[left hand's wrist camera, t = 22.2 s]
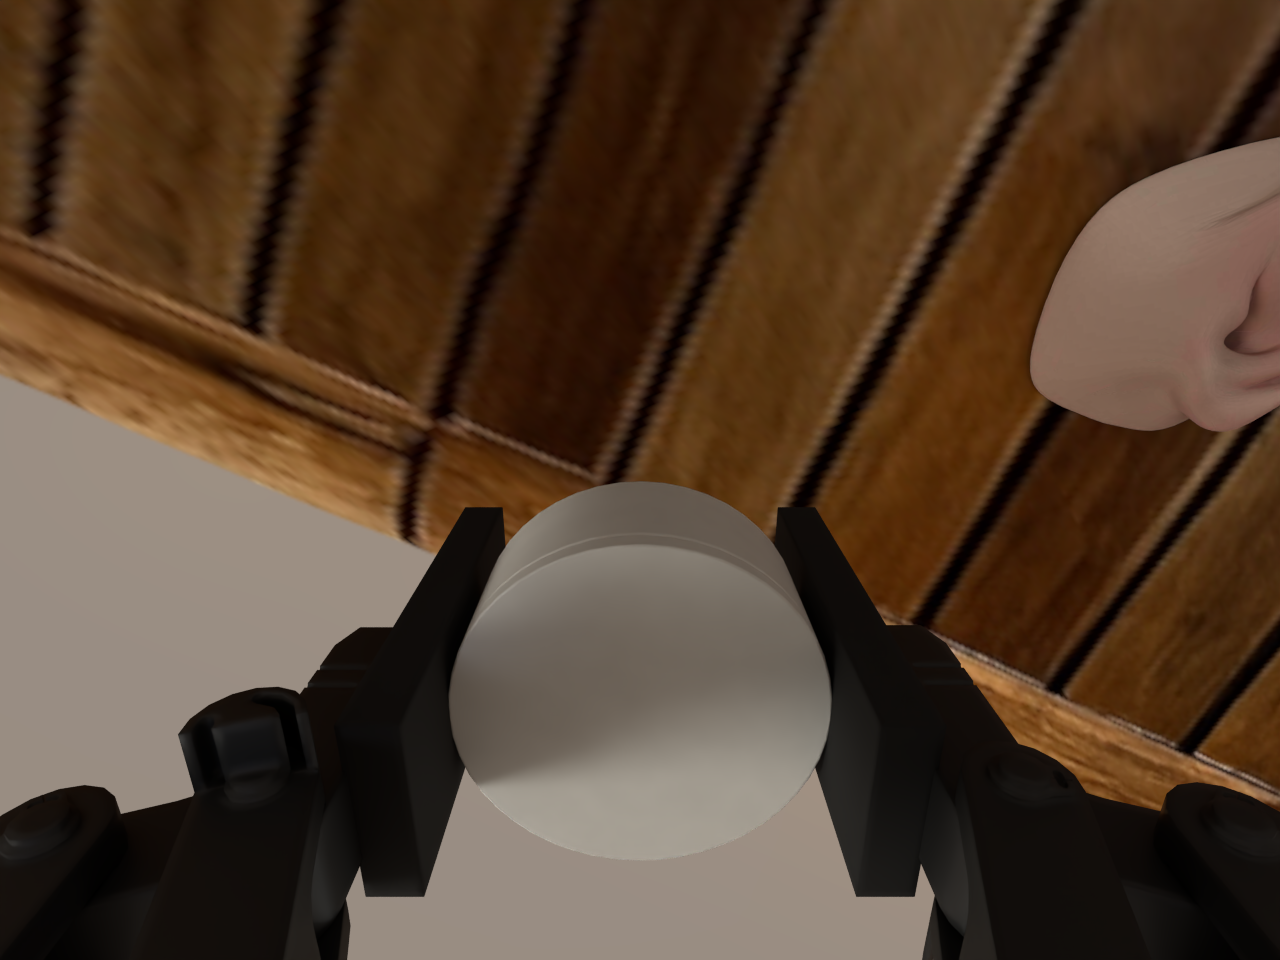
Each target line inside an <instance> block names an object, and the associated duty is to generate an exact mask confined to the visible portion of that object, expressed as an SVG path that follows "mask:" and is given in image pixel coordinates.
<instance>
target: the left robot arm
mask: <svg viewBox="0 0 1280 960" xmlns="http://www.w3.org/2000/svg"><path fill="white" fill-rule="evenodd" d="M775 548H776V549H777V551H778V552H779V554H780V555H781V557H782V558H783V560H784V562H785V565H786V567H787V569H788V571H789V573H790V576H791V578H792V580H793V583H794V585H795V587H796V590H797V592H798V594H799V597H800V599H801V602H802V604H803V606H804V609H805V611H806V613H807V616H808V618H809V621H810V623H811V625H812V628H813V630H814V632H815V635H816V637H817V639H818V642H819V644H820V647H821V649H822V651H823V654H824V656H825V660H826V663H827V667H828V671H829V674H830V679H831V688H832V707H831V717H830V725H829V732H828V737H827V741H826V744H825V746H824V749H823V751H822V754H821V757H820V759H819V761H818V763H817V765H816V767H815V768H816V772H817V774H818V778H819V781H820V784H821V787H822V790H823V793H824V797H825V800H826V803H827V806H828V809H829V812H830V816H831V819H832V822H833V825H834V828H835V831H836V834H837V838H838V841H839V844H840V847H841V850H842V853H843V856H844V859H845V863H846V866H847V869H848V872H849V875H850V878H851V882H852V885H853V888H854V891H855V894H856V897H914V896H915V892H916V887H917V882H918V876H919V871H920V866H921V865H922V867H923V869H924V871H925V874H926V876H927V878H928V881H929V883H930V885H931V887H932V890H933V892H934V894H935V897H934V902H933V907H932V912H931V917H930V922H929V927H928V932H927V937H926V941H925V946H924V951H923V958H922V960H1280V812H1279V811H1277V810H1275V809H1273V808H1271V807H1270V806H1268V805H1266V804H1264V803H1262V802H1260V801H1259V800H1257V799H1255V798H1253V797H1251V796H1248V795H1246V794H1243V793H1241V792H1237V791H1235V790H1232V789H1229V788H1226V787H1223V786H1217V785H1211V784H1205V783H1198V782H1196V783H1188V784H1180V785H1177V786H1176V787H1174V788H1173V789H1172V790H1171V791H1169V792H1168V793H1167V794H1166V797H1165V800H1164V803H1163V806H1162V809H1161V811H1157V810H1152V809H1148V808H1144V807H1139V806H1135V805H1131V804H1126V803H1122V802H1118V801H1113V800H1109V799H1105V798H1101V797H1098V796H1095V795H1091V794H1088V793H1086V792H1085V790H1084V789H1083V787H1082V786H1081V784H1080V783H1079V781H1078V780H1077V778H1076V776H1075V775H1074V774H1073V773H1071V772H1070V771H1069V770H1068V769H1067V768H1065V767H1064V766H1063V765H1062V764H1061V763H1059V762H1058V761H1057V760H1055V759H1053V758H1052V757H1050V756H1048V755H1046V754H1044V753H1042V752H1040V751H1038V750H1036V749H1034V748H1031V747H1027V746H1024V745H1020V744H1018V743H1017V741H1016V740H1015V738H1014V737H1013V736H1012V734H1011V733H1010V732H1009V730H1008V729H1007V727H1006V726H1005V725H1004V723H1003V722H1002V720H1001V719H1000V718H999V716H998V715H997V713H996V712H995V711H994V709H993V708H992V707H991V705H990V704H989V702H988V701H987V700H986V698H985V697H984V695H983V694H982V693H981V691H980V690H979V688H978V687H977V686H976V685H973V680H972V679H971V677H970V676H969V675H968V673H967V672H966V670H965V669H964V668H961V663H960V662H959V661H958V659H957V658H956V656H955V655H954V654H953V652H952V651H951V649H950V648H949V647H948V645H947V644H946V643H945V642H944V641H942V640H941V639H939V638H938V637H937V636H935V635H934V634H932V633H931V632H929V631H928V630H927V629H925V628H924V627H922V626H921V625H886V624H885V622H884V621H883V619H882V618H881V616H880V614H879V613H878V611H877V609H876V608H875V606H874V604H873V603H872V601H871V599H870V598H869V596H868V594H867V593H866V591H865V589H864V588H863V586H862V584H861V583H860V581H859V579H858V578H857V576H856V574H855V573H854V571H853V569H852V568H851V566H850V565H849V563H848V561H847V560H846V558H845V556H844V555H843V553H842V551H841V550H840V548H839V546H838V545H837V543H836V541H835V540H834V538H833V536H832V535H831V533H830V531H829V530H828V528H827V526H826V525H825V523H824V521H823V520H822V518H821V516H820V515H819V513H818V512H817V510H816V508H815V507H778V513H777V526H776V540H775ZM504 549H505V534H504V520H503V507H465V509H464V511H463V512H462V514H461V516H460V517H459V519H458V521H457V522H456V524H455V525H454V527H453V529H452V530H451V532H450V534H449V535H448V537H447V539H446V540H445V542H444V544H443V545H442V547H441V549H440V550H439V552H438V554H437V555H436V557H435V559H434V561H433V562H432V564H431V565H430V567H429V569H428V570H427V572H426V574H425V575H424V577H423V579H422V580H421V582H420V583H419V585H418V587H417V588H416V590H415V592H414V593H413V595H412V597H411V598H410V600H409V602H408V603H407V605H406V607H405V608H404V610H403V612H402V613H401V615H400V617H399V618H398V620H397V622H396V623H395V625H394V627H360V628H359V629H357V630H356V631H355V632H353V633H352V634H350V635H349V636H347V637H346V638H345V639H343V640H342V641H340V642H339V643H338V644H336V645H335V646H334V647H333V649H332V650H331V652H330V653H329V654H328V656H327V657H326V659H325V660H324V661H323V663H322V664H321V666H320V670H317V671H316V673H315V674H314V675H313V677H312V678H311V680H310V681H309V682H308V687H307V688H304V689H303V691H302V692H301V694H299V693H297V692H296V691H294V690H289V689H285V688H281V687H267V688H255V689H251V690H247V691H243V692H239V693H235V694H232V695H230V696H228V697H225V698H223V699H221V700H219V701H217V702H214V703H212V704H210V705H208V706H207V707H206V708H204V709H203V710H202V711H200V712H199V713H197V714H196V715H195V716H193V717H192V718H191V719H190V720H189V721H188V722H187V723H186V725H185V726H184V727H183V729H182V730H181V731H180V733H179V734H178V736H179V739H180V743H181V746H182V750H183V753H184V757H185V761H186V764H187V767H188V771H189V775H190V778H191V782H192V785H193V788H194V792H195V793H194V795H193V796H192V797H189V798H186V799H182V800H179V801H175V802H171V803H167V804H162V805H158V806H154V807H149V808H145V809H141V810H137V811H132V812H128V813H124V814H121V813H120V810H119V807H118V804H117V801H116V798H115V796H114V795H112V794H111V793H110V792H109V791H107V790H106V789H105V788H102V787H95V786H87V785H83V786H76V787H70V788H64V789H58V790H55V791H53V792H50V793H47V794H44V795H41V796H39V797H36V798H33V799H30V800H29V801H27V802H25V803H23V804H21V805H19V806H18V807H16V808H14V809H12V810H10V811H8V812H7V813H5V814H3V815H2V816H0V960H347V955H348V945H349V935H350V920H349V913H348V907H347V902H346V897H347V894H348V892H349V890H350V887H351V885H352V883H353V881H354V878H355V876H356V874H357V871H358V869H359V867H360V869H361V874H362V879H363V884H364V890H365V895H366V897H424V895H425V892H426V889H427V886H428V883H429V880H430V877H431V873H432V870H433V867H434V864H435V861H436V858H437V854H438V851H439V848H440V845H441V842H442V839H443V836H444V832H445V829H446V826H447V823H448V820H449V817H450V814H451V810H452V807H453V804H454V801H455V798H456V795H457V792H458V789H459V785H460V782H461V779H462V776H463V773H464V770H465V765H464V763H463V761H462V760H461V758H460V756H459V753H458V750H457V747H456V744H455V741H454V738H453V735H452V729H451V721H450V712H449V699H448V693H449V686H450V678H451V672H452V669H453V666H454V663H455V659H456V656H457V653H458V650H459V648H460V646H461V643H462V641H463V639H464V636H465V634H466V631H467V629H468V627H469V624H470V622H471V619H472V617H473V615H474V612H475V610H476V607H477V605H478V603H479V600H480V598H481V596H482V593H483V591H484V588H485V586H486V584H487V581H488V579H489V576H490V574H491V572H492V570H493V568H494V566H495V564H496V562H497V560H498V558H499V556H500V554H501V553H502V552H503V550H504Z"/></svg>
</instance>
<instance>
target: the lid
mask: <svg viewBox="0 0 1280 960" xmlns="http://www.w3.org/2000/svg"><path fill="white" fill-rule="evenodd" d="M448 699H449V712H450V721H451V729H452V735H453V738H454V741H455V744H456V747H457V750H458V753H459V756H460V758H461V760H462V761H463V763H464V765H465V767H466V769H467V771H468V773H469V775H470V776H471V777H472V779H473V780H474V782H475V783H476V784H477V786H478V787H479V789H480V790H481V791H482V792H483V794H484V795H485V796H486V797H487V798H488V799H489V800H490V801H491V802H492V803H493V804H494V805H495V806H496V807H497V808H498V809H499V810H500V811H502V812H503V813H504V814H505V815H506V816H508V817H509V818H510V819H511V820H512V821H514V822H516V823H517V824H519V825H520V826H522V827H523V828H525V829H526V830H528V831H530V832H531V833H533V834H535V835H537V836H539V837H541V838H543V839H545V840H547V841H549V842H551V843H554V844H557V845H559V846H562V847H565V848H567V849H570V850H573V851H577V852H581V853H585V854H589V855H592V856H598V857H605V858H611V859H620V860H638V861H640V860H662V859H669V858H676V857H683V856H688V855H692V854H696V853H700V852H704V851H707V850H710V849H713V848H716V847H719V846H721V845H724V844H727V843H729V842H731V841H733V840H735V839H737V838H740V837H742V836H744V835H746V834H748V833H749V832H751V831H752V830H754V829H756V828H757V827H759V826H760V825H762V824H764V823H765V822H767V821H768V820H769V819H770V818H772V817H773V816H774V815H775V814H777V813H778V812H779V811H780V810H782V809H783V808H784V807H785V806H786V805H787V804H788V803H789V802H790V801H791V800H792V798H793V797H794V796H795V795H796V794H797V793H798V792H799V790H800V789H801V788H802V787H803V785H804V784H805V783H806V781H807V780H808V779H809V777H810V776H811V774H812V772H813V770H814V768H815V767H816V765H817V763H818V761H819V759H820V757H821V754H822V751H823V749H824V746H825V744H826V741H827V737H828V732H829V725H830V717H831V707H832V688H831V679H830V674H829V671H828V667H827V663H826V660H825V656H824V654H823V651H822V649H821V647H820V644H819V642H818V639H817V637H816V635H815V632H814V630H813V628H812V625H811V623H810V621H809V618H808V616H807V613H806V611H805V609H804V606H803V604H802V602H801V599H800V597H799V594H798V592H797V590H796V587H795V585H794V583H793V580H792V578H791V576H790V573H789V571H788V569H787V567H786V565H785V562H784V560H783V558H782V557H781V555H780V554H779V552H778V551H777V549H776V548H775V546H774V545H773V543H772V542H771V541H770V540H769V539H768V537H767V536H766V535H765V534H764V533H763V532H762V531H761V529H760V528H759V527H757V526H756V525H755V524H754V523H753V522H752V521H750V520H749V519H748V518H747V517H746V516H745V515H743V514H742V513H740V512H739V511H737V510H736V509H734V508H732V507H731V506H729V505H728V504H726V503H724V502H722V501H720V500H718V499H716V498H714V497H712V496H710V495H707V494H705V493H702V492H699V491H696V490H693V489H690V488H686V487H682V486H677V485H671V484H666V483H656V482H623V483H615V484H609V485H604V486H598V487H595V488H591V489H588V490H585V491H582V492H578V493H576V494H574V495H571V496H569V497H567V498H565V499H562V500H560V501H558V502H556V503H555V504H553V505H551V506H550V507H548V508H547V509H545V510H543V511H542V512H540V513H539V514H537V515H536V516H535V517H534V518H533V519H531V520H530V521H529V522H528V523H527V524H525V525H524V526H523V527H522V528H521V529H520V530H519V531H518V532H517V534H516V535H515V536H514V537H513V538H512V539H511V540H510V541H509V543H508V544H507V546H506V547H505V549H504V550H503V552H502V553H501V554H500V556H499V558H498V560H497V562H496V564H495V566H494V568H493V570H492V572H491V574H490V576H489V579H488V581H487V584H486V586H485V588H484V591H483V593H482V596H481V598H480V600H479V603H478V605H477V607H476V610H475V612H474V615H473V617H472V619H471V622H470V624H469V627H468V629H467V631H466V634H465V636H464V639H463V641H462V643H461V646H460V648H459V650H458V653H457V656H456V659H455V663H454V666H453V669H452V672H451V678H450V686H449V693H448Z"/></svg>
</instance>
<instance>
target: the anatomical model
mask: <svg viewBox="0 0 1280 960" xmlns="http://www.w3.org/2000/svg"><path fill="white" fill-rule="evenodd" d="M1030 373H1031V378H1032V381H1033V384H1034V385H1035V387H1036V389H1037V390H1038V391H1039V392H1040V393H1041V394H1042V395H1043V396H1045V397H1046V398H1047V399H1049V400H1051V401H1053V402H1054V403H1056V404H1058V405H1060V406H1062V407H1064V408H1066V409H1069V410H1071V411H1074V412H1076V413H1079V414H1081V415H1084V416H1086V417H1089V418H1091V419H1094V420H1097V421H1100V422H1103V423H1107V424H1111V425H1115V426H1120V427H1125V428H1130V429H1136V430H1148V431H1153V430H1159V429H1165V428H1168V427H1171V426H1174V425H1176V424H1179V423H1181V422H1183V421H1185V420H1187V419H1191V420H1192V421H1193V422H1195V423H1196V424H1198V425H1199V426H1201V427H1203V428H1205V429H1208V430H1212V431H1230V430H1234V429H1237V428H1240V427H1242V426H1244V425H1246V424H1248V423H1250V422H1252V421H1254V420H1256V419H1257V418H1259V417H1261V416H1262V415H1264V414H1266V413H1268V412H1269V411H1271V410H1273V409H1274V408H1276V407H1278V406H1279V405H1280V137H1278V138H1273V139H1268V140H1263V141H1259V142H1254V143H1250V144H1246V145H1242V146H1238V147H1235V148H1231V149H1227V150H1223V151H1220V152H1217V153H1213V154H1210V155H1207V156H1203V157H1200V158H1197V159H1194V160H1191V161H1188V162H1185V163H1182V164H1179V165H1176V166H1173V167H1171V168H1168V169H1166V170H1163V171H1161V172H1159V173H1156V174H1154V175H1151V176H1149V177H1147V178H1145V179H1143V180H1141V181H1139V182H1137V183H1135V184H1133V185H1131V186H1130V187H1128V188H1126V189H1125V190H1123V191H1122V192H1120V193H1119V194H1117V195H1116V196H1115V197H1113V198H1112V199H1111V200H1110V201H1108V202H1107V203H1106V204H1105V205H1104V206H1103V207H1102V208H1101V209H1100V210H1099V211H1098V212H1097V213H1096V214H1095V215H1094V216H1093V217H1092V219H1091V220H1090V221H1089V222H1088V223H1087V225H1086V226H1085V227H1084V229H1083V230H1082V232H1081V233H1080V234H1079V236H1078V237H1077V239H1076V240H1075V242H1074V244H1073V245H1072V247H1071V249H1070V250H1069V252H1068V254H1067V255H1066V257H1065V259H1064V261H1063V263H1062V265H1061V267H1060V269H1059V271H1058V274H1057V276H1056V278H1055V280H1054V282H1053V285H1052V287H1051V290H1050V293H1049V295H1048V298H1047V300H1046V303H1045V305H1044V308H1043V311H1042V314H1041V318H1040V321H1039V324H1038V327H1037V330H1036V334H1035V338H1034V342H1033V346H1032V351H1031V358H1030Z"/></svg>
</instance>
